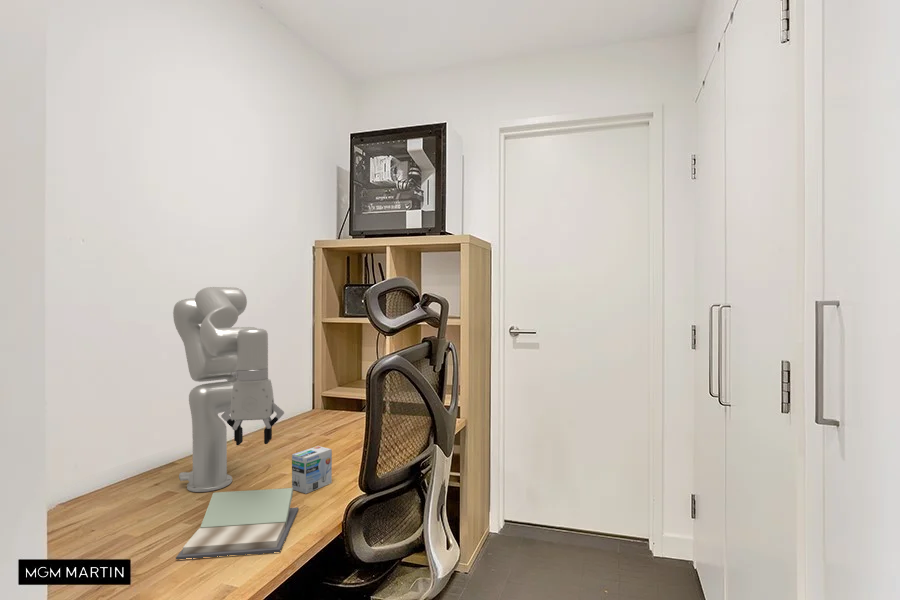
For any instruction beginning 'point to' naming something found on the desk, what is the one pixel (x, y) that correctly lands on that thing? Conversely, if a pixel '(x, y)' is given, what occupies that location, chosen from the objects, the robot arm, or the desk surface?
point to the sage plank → (248, 508)
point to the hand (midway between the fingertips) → (253, 442)
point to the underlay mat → (290, 521)
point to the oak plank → (234, 538)
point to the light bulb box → (311, 469)
